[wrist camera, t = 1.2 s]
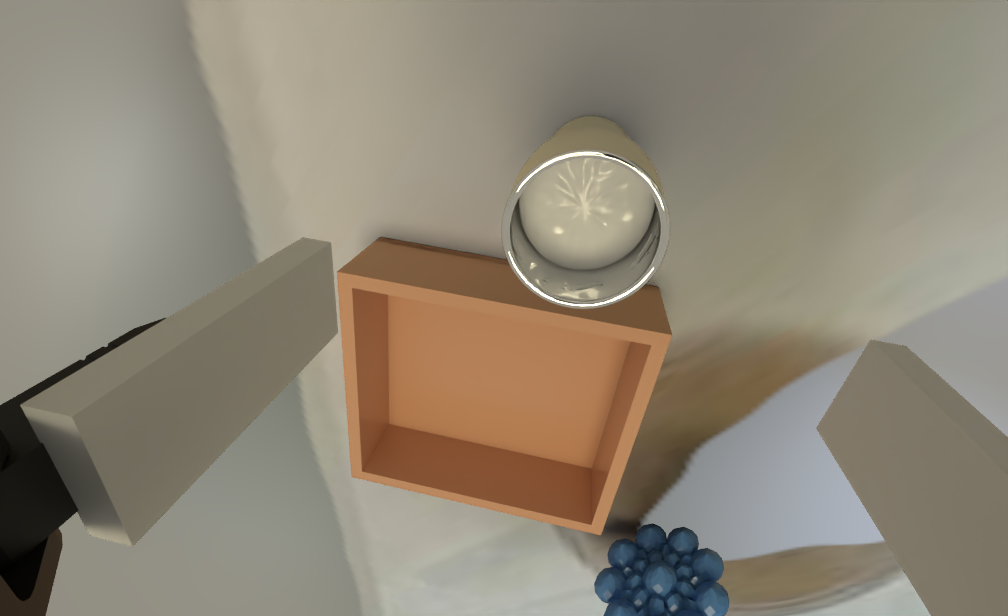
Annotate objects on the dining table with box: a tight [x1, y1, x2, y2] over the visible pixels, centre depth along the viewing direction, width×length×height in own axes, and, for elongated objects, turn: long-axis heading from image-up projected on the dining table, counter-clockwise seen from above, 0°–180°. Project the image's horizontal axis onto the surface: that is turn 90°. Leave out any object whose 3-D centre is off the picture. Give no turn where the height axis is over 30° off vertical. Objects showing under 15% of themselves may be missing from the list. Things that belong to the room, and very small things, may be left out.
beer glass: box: [502, 116, 670, 309], centre depth 24 cm, size 7×7×15 cm
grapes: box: [594, 524, 729, 616], centre depth 41 cm, size 12×7×12 cm, turn 101°
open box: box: [337, 237, 672, 535], centre depth 37 cm, size 22×20×7 cm
